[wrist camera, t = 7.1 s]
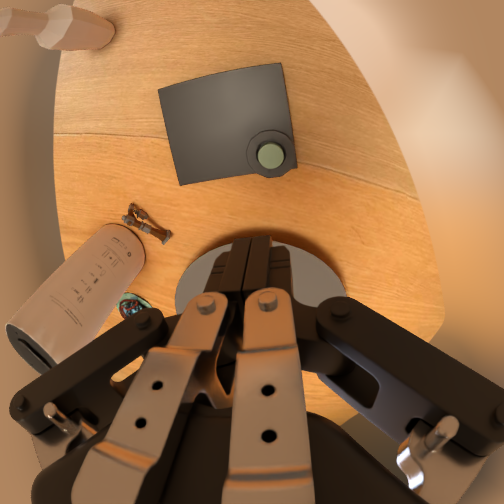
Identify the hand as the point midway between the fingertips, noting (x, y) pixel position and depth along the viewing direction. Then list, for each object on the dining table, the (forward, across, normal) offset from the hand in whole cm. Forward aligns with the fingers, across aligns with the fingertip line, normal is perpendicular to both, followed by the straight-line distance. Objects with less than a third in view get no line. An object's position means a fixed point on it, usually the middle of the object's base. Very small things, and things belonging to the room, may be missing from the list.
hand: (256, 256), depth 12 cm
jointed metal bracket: (+27, +20, +8) cm, 34 cm away
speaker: (+26, +28, +12) cm, 40 cm away
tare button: (+24, 0, 0) cm, 24 cm away
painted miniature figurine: (+26, +31, +26) cm, 48 cm away
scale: (+26, +5, -4) cm, 27 cm away
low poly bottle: (+27, +21, -24) cm, 42 cm away
